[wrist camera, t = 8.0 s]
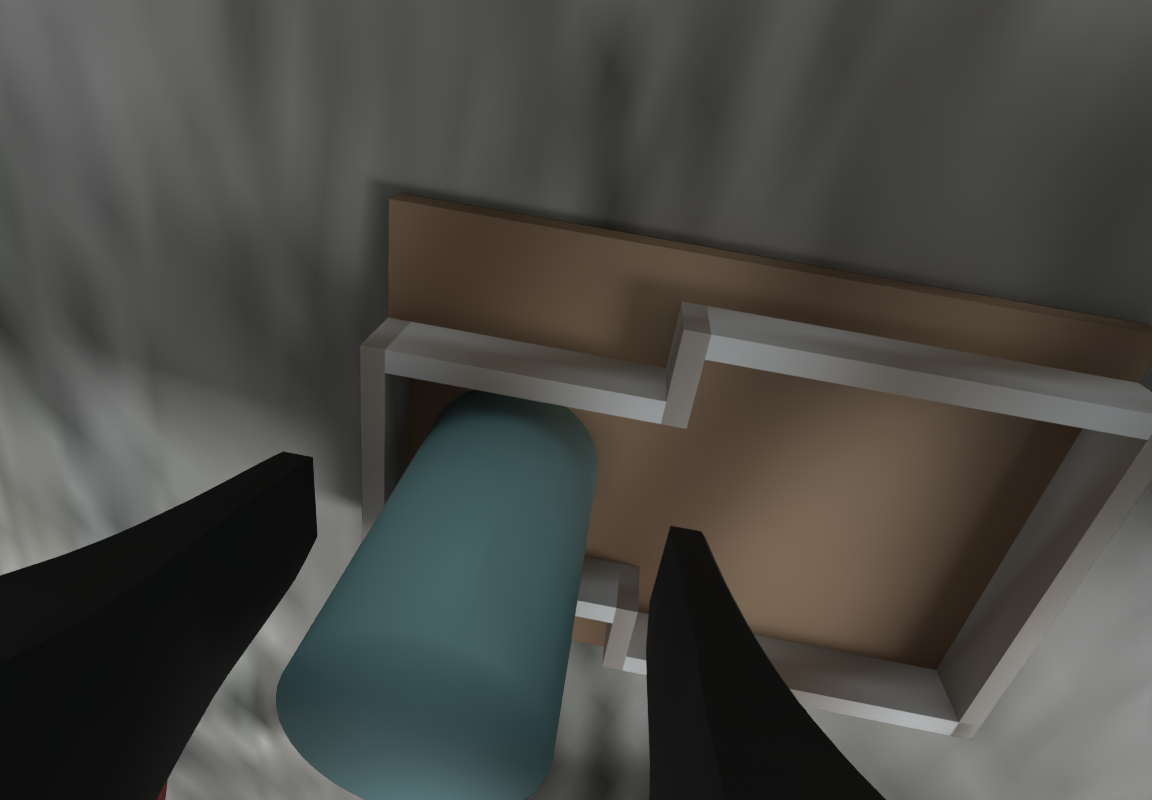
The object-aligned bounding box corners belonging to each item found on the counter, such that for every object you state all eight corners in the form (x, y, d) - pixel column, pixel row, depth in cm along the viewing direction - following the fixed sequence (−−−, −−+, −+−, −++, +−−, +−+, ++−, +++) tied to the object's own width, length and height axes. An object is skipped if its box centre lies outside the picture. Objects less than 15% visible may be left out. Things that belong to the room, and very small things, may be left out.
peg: (618, 413, 15) (584, 681, 8) (573, 546, 16) (521, 843, 10) (442, 363, 14) (279, 598, 8) (418, 504, 16) (272, 777, 10)
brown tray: (1147, 324, 13) (1228, 370, 11) (924, 692, 18) (953, 764, 16) (399, 193, 13) (357, 216, 12) (393, 587, 19) (364, 646, 17)
